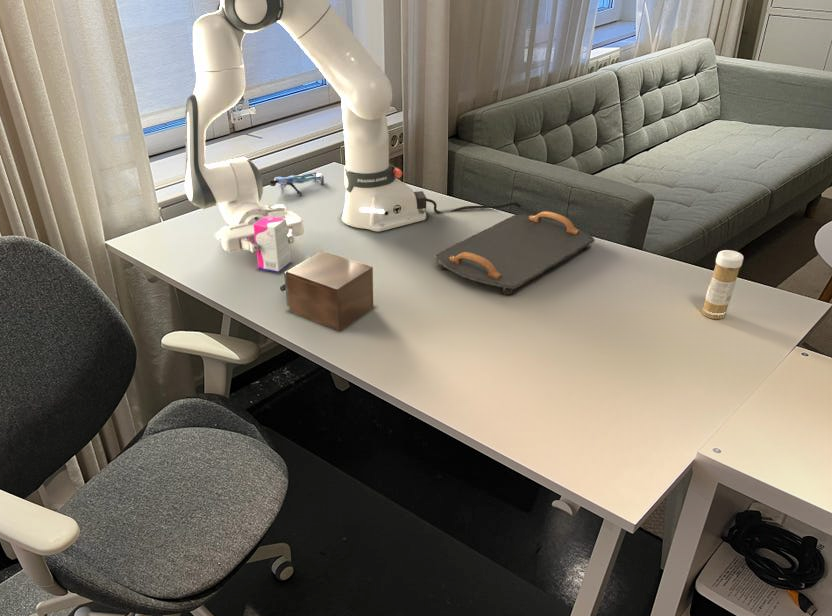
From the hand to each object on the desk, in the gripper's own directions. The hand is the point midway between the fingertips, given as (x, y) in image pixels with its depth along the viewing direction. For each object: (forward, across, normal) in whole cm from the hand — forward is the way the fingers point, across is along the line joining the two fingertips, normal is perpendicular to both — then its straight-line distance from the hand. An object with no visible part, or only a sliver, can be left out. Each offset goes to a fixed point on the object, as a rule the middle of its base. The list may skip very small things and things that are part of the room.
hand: (273, 244), depth 164 cm
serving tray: (+25, +51, +6) cm, 57 cm away
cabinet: (+24, +3, +6) cm, 25 cm away
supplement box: (-1, 0, +6) cm, 6 cm away
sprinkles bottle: (+66, +69, +6) cm, 95 cm away
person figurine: (-44, +24, +6) cm, 51 cm away
